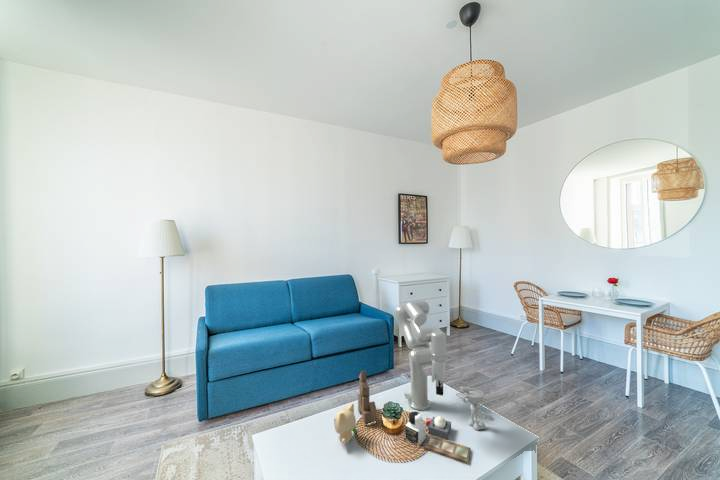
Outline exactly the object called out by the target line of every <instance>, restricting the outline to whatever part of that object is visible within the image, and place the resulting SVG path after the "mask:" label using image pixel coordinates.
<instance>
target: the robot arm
mask: <svg viewBox="0 0 720 480" xmlns="http://www.w3.org/2000/svg"><path fill="white" fill-rule="evenodd" d="M394 309H395V310H394V317H395V321H396V323H397V324H398V326H399V329H400V330H401V331H402V335H403V337H404V341H405V343H406V346H407V347H408V349H410V350H411V351H409V353H408V361H409V367H410V393H408V392H404V399H408V406H409V407H410V408H412V409H414V410H417V411H425V410H428V409H430V408H431V406H432V405H431V401H430V399H429V395H428V392H429V391H428V390H429V388H428V373H427V371H426V369H424V367H428V366H431V382H432V383H434V382H435V394H436V396H437V395H438V396H444V380H445V379H446V378H445V377H446V362H447V360H448V357H447V355H448V353H447V334H446V333H445V332H444V331H442V329H441V328H439V326H427V327H426V326H425V327H421V326H423V325H425V323H426V322H427V321H428V320H427V319H428V316H427V315H428V314H429V313H430V305H429V304H428V302H427V301H426V300H410V301H408V302H407V303H406V304H405V305H399V306H397V307H395V308H394ZM408 319H411V321H410V320H408Z"/></svg>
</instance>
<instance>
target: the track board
mask: <svg viewBox="0 0 720 480" xmlns="http://www.w3.org/2000/svg"><path fill="white" fill-rule="evenodd" d="M429 435H430V434H429ZM471 450H472V449H471V447H469V446H465V445H463V444H460V443H457V442H454V441H450V440H449V439H448V440H446V439H443V438H440V437H436V436H433V435H430V438H429V440H428V442H427V445H426V447H425V451H427V452H431V453H433V454H436V455H438V456H439V455H440V456H441V457H445V458H448V459H451V460H453V461H456V462H459V463H462V464H464V465H469V460H470V454H471Z"/></svg>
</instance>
